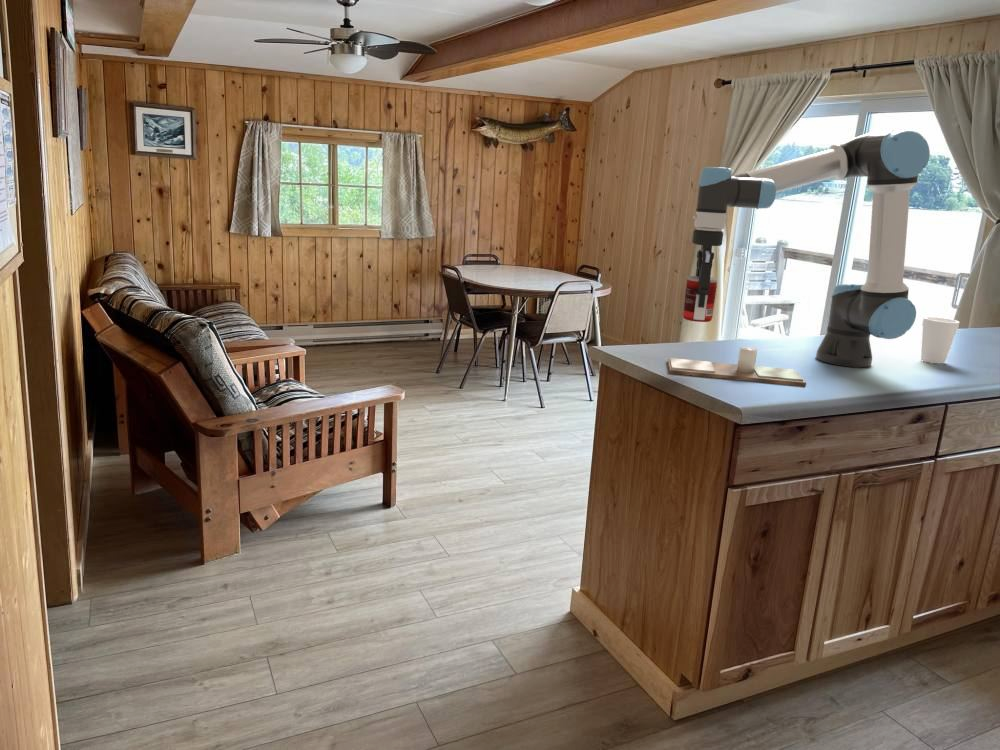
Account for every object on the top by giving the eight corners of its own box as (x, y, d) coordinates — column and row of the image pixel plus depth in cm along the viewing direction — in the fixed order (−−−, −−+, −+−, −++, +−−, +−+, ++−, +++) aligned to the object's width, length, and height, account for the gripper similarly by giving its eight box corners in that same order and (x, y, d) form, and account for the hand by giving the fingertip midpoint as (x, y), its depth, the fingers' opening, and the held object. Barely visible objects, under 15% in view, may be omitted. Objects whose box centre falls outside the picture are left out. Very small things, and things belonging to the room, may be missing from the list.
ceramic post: (752, 369, 200) (756, 347, 198) (755, 373, 196) (758, 351, 194) (735, 368, 201) (739, 346, 199) (738, 372, 196) (741, 349, 195)
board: (794, 373, 203) (795, 368, 203) (805, 386, 190) (806, 381, 189) (667, 361, 208) (668, 356, 208) (669, 373, 195) (670, 368, 195)
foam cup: (948, 361, 230) (957, 319, 227) (952, 366, 222) (961, 324, 219) (914, 356, 234) (922, 315, 231) (916, 362, 226) (924, 320, 222)
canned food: (711, 318, 200) (716, 277, 197) (713, 323, 193) (718, 281, 190) (681, 315, 202) (686, 275, 199) (682, 320, 194) (688, 278, 191)
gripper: (691, 226, 202) (680, 309, 207) (696, 230, 182) (685, 322, 188) (719, 228, 200) (708, 311, 206) (728, 232, 181) (716, 325, 186)
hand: (697, 316), depth 197 cm, fingers closed on canned food, 8 cm apart
